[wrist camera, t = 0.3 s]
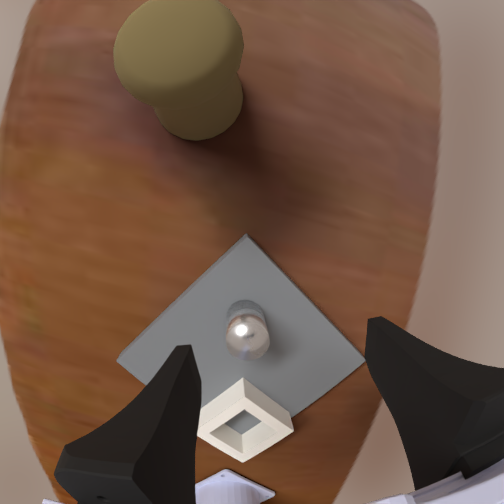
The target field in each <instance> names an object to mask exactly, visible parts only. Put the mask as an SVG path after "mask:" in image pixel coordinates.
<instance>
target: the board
mask: <svg viewBox="0 0 504 504" xmlns="http://www.w3.org/2000/svg"><path fill="white" fill-rule="evenodd" d="M240 300H251V301H254V302H255V303H257V304H258V305H259V306H260V307H261V309H262V311H263V314H264V318H265V322H266V326H267V330H268V334H269V339H270V344H269V348H268V350H267V351H266V352H265V354H263V355H262V356H261V357H259V358H257V359H254V360H248V361H246V360H240V359H237V358H235V357H234V356H232V355H231V354H230V352H229V351H228V349H227V346H226V313H227V310H228V309H229V307H230V306H231V305H232V304H233V303H235V302H237V301H240ZM189 344H191V345H192V349H193V353H194V356H195V360H196V363H197V367H198V370H199V374H200V377H201V381H202V402H201V408H202V407H204V406H205V405H207V404H208V403H209V402H211V401H212V400H213V399H215V398H216V397H218V396H219V395H220V394H222V393H223V392H224V391H226V390H227V389H228V388H230V387H231V386H232V385H234V384H235V383H236V382H238V381H239V380H240V379H242V378H245V379H246V380H247V381H249V382H250V383H251V384H252V385H254V386H255V387H256V388H258V389H259V390H260V391H261V392H263V393H264V394H265V395H267V396H268V397H269V398H271V399H272V400H273V401H275V402H276V403H277V404H279V405H280V406H282V407H283V408H284V409H286V410H287V411H288V412H289V413H290V417H291V418H292V417H293V416H295V415H296V414H298V413H299V412H300V411H302V410H303V409H305V408H306V407H307V406H309V405H310V404H311V403H313V402H314V401H316V400H317V399H318V398H320V397H321V396H322V395H324V394H325V393H326V392H328V391H329V390H330V389H331V388H333V387H334V386H335V385H337V384H338V383H339V382H340V381H342V380H343V379H344V378H345V377H347V376H348V375H349V374H350V373H352V372H353V371H354V370H355V369H356V368H358V367H359V366H360V365H361V364H362V363H364V362H365V361H366V360H365V358H364V357H363V355H362V354H361V353H360V352H359V350H358V349H357V348H356V347H355V346H354V345H353V344H352V343H351V342H350V341H349V340H348V339H347V338H346V337H345V336H344V335H343V334H342V333H341V331H340V330H339V329H338V328H337V327H336V326H335V325H334V324H333V323H332V322H331V321H330V320H329V319H328V318H327V317H326V316H325V315H324V314H323V313H322V311H321V310H320V309H319V308H318V307H317V306H316V305H315V304H314V303H313V302H312V301H311V300H310V299H309V298H308V297H307V296H306V295H305V294H304V293H303V292H302V290H301V289H300V288H299V287H298V286H297V285H296V284H295V283H294V282H293V281H292V280H291V279H290V278H289V277H288V276H287V275H286V274H285V273H284V272H283V271H282V270H281V269H280V268H279V266H278V265H277V264H276V263H275V262H274V261H273V260H272V259H271V258H270V257H269V256H268V255H267V254H266V253H265V252H264V251H263V250H262V249H261V248H260V247H259V246H258V245H257V244H256V243H255V242H254V240H253V239H252V238H251V237H250V236H249V235H248V234H247V233H246V234H245V235H244V236H243V237H242V238H240V239H239V240H238V241H237V242H236V243H235V244H234V245H233V246H232V247H231V248H230V249H229V250H228V251H227V252H226V253H224V254H223V255H222V256H221V257H220V258H219V259H218V260H217V261H216V262H215V263H214V264H213V265H212V266H211V267H210V268H209V269H208V270H206V271H205V272H204V273H203V274H202V275H201V276H200V277H199V278H198V279H197V280H196V281H195V282H194V283H193V284H192V285H191V286H190V287H189V288H188V289H186V290H185V291H184V292H183V293H182V294H181V295H180V296H179V297H178V298H177V299H176V300H175V301H174V302H173V303H172V304H171V305H170V306H169V307H168V308H167V309H166V310H165V311H163V312H162V313H161V314H160V315H159V316H158V317H157V318H156V319H155V320H154V321H153V322H152V323H151V324H150V325H149V326H148V327H147V328H146V329H145V330H144V331H143V332H142V333H141V334H140V335H139V336H138V337H137V338H136V339H135V340H133V341H132V342H131V343H130V344H129V345H128V346H127V347H126V348H125V349H124V350H123V351H122V352H121V353H120V355H119V357H118V359H117V362H118V363H119V364H120V365H122V366H123V367H124V368H125V369H126V370H128V371H129V372H130V373H131V374H132V375H134V376H135V377H136V378H137V379H139V380H140V381H141V382H142V383H144V384H145V385H147V384H148V383H149V382H150V381H151V379H152V378H153V377H154V376H155V374H156V373H157V372H158V370H159V369H160V368H161V366H162V365H163V364H164V362H165V361H166V359H167V358H168V357H169V355H170V354H171V352H172V351H173V350H174V348H175V347H176V346H177V345H189ZM260 422H262V421H261V420H259V419H258V418H256V417H255V416H253V415H252V414H250V413H249V412H248V411H246V410H245V409H244V410H243V411H241V412H240V413H238V414H237V415H235V416H234V417H233V418H231V419H230V420H228V421H227V422H225V423H224V424H226V425H227V426H229V427H230V428H232V429H233V430H235V431H237V432H238V433H240V434H241V435H242V434H244V433H245V432H247V431H248V430H250V429H251V428H253V427H254V426H256V425H257V424H259V423H260Z"/></svg>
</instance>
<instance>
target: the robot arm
mask: <svg viewBox="0 0 504 504" xmlns="http://www.w3.org/2000/svg"><path fill="white" fill-rule="evenodd" d="M364 357H365V360H366V363H367V366H368V368H369V371H370V374H371V376H372V378H373V380H374V382H375V384H376V386H377V388H378V390H379V391H380V393H381V395H382V397H383V399H384V401H385V403H386V404H387V406H388V408H389V410H390V412H391V414H392V416H393V418H394V420H395V423H396V425H397V428H398V431H399V434H400V436H401V439H402V442H403V445H404V449H405V452H406V455H407V458H408V462H409V466H410V469H411V473H412V478H413V482H414V487H415V491H414V492H411V493H409V494H398V495H393V496H389V497H385V498H382V499H379V500H376V501H373V502H369V503H366V504H504V368H497V367H492V366H486V365H482V364H478V363H474V362H471V361H467V360H464V359H461V358H458V357H456V356H453V355H451V354H448V353H446V352H443V351H441V350H439V349H437V348H435V347H433V346H431V345H429V344H427V343H425V342H423V341H421V340H420V339H418V338H416V337H415V336H413V335H411V334H410V333H408V332H406V331H405V330H403V329H402V328H400V327H398V326H397V325H395V324H394V323H392V322H390V321H389V320H387V319H385V318H383V317H382V316H380V317H375V318H370V319H368V324H367V336H366V347H365V356H364ZM201 402H202V381H201V377H200V374H199V370H198V367H197V363H196V360H195V356H194V353H193V349H192V345H191V344H189V345H177V346H176V347H175V348H174V350H173V351H172V352H171V354H170V355H169V357H168V358H167V359H166V361H165V362H164V364H163V365H162V366H161V368H160V369H159V370H158V372H157V373H156V374H155V376H154V377H153V378H152V379H151V381H150V382H149V383H148V384H147V385H146V387H145V388H144V389H143V390H142V391H141V392H140V393H139V395H138V396H137V397H136V398H135V399H134V400H133V401H132V402H131V403H129V404H128V405H127V406H126V407H125V408H124V409H123V410H122V411H120V412H119V413H118V414H116V415H115V416H114V417H113V418H111V419H110V420H109V421H107V422H106V423H105V424H103V425H102V426H100V427H99V428H97V429H95V430H94V431H92V432H90V433H89V434H87V435H85V436H83V437H81V438H79V439H77V440H75V441H73V442H71V443H69V444H67V445H65V446H64V449H63V451H62V453H61V456H60V458H59V461H58V464H57V466H56V469H55V472H54V476H55V478H56V480H57V482H58V483H59V484H60V485H61V486H62V487H63V488H64V489H65V490H66V491H67V492H68V493H69V494H70V495H71V496H72V497H73V498H74V499H76V500H77V501H78V503H77V504H260V503H261V502H263V501H265V500H267V499H269V498H271V497H273V496H275V492H274V491H272V490H269V489H267V488H265V487H263V486H261V485H259V484H257V483H254V482H252V481H250V480H248V479H246V478H244V477H242V476H240V475H238V474H236V473H235V472H233V471H231V470H228V469H224V470H222V471H220V472H218V473H217V474H215V475H213V476H211V477H209V478H207V479H205V480H203V481H201V482H199V483H197V484H195V448H196V439H197V432H198V425H199V418H200V410H201ZM42 504H64V503H60V502H57V501H52V500H49V499H43V502H42Z"/></svg>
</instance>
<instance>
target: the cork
mask: <svg viewBox="0 0 504 504" xmlns="http://www.w3.org/2000/svg"><path fill="white" fill-rule="evenodd" d="M243 48H244V43H243V37H242V31H241V28H240V26H239V24H238V22H237V21H236V19H235V18H234V16H233V14H232V13H231V11H230V10H229V9H228V8H227V7H225V6H224V5H223V4H222V3H220V2H219V1H218V0H150V1H148V2H146V3H144V4H143V5H141V6H140V7H139V8H138V9H137V10H135V11H134V12H133V13H132V14H131V15H130V16H129V17H128V19H127V20H126V21H125V23H124V24H123V26H122V27H121V29H120V30H119V32H118V35H117V38H116V41H115V45H114V48H113V54H114V67H115V71H116V73H117V75H118V77H119V79H120V81H121V84H122V86H123V87H124V88H125V89H126V90H127V91H128V92H129V93H131V94H132V95H133V96H134V97H135V98H136V99H137V100H139V101H141V102H143V103H145V104H148V105H150V106H152V107H153V108H154V110H155V113H156V115H157V117H158V119H159V121H160V123H161V124H162V125H163V126H164V127H165V128H166V129H167V130H168V131H169V132H170V133H171V134H173V135H176V136H178V137H180V138H182V139H187V140H195V141H198V140H204V139H210V138H213V137H215V136H217V135H219V134H221V133H223V132H224V131H225V130H226V129H228V128H229V127H230V126H231V125H232V124H233V123H234V122H235V120H236V118H237V116H238V115H239V113H240V111H241V107H242V102H243V92H242V85H241V82H240V80H239V77H238V74H237V71H238V69H239V67H240V63H241V58H242V53H243Z"/></svg>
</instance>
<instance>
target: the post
mask: <svg viewBox="0 0 504 504" xmlns="http://www.w3.org/2000/svg"><path fill="white" fill-rule="evenodd" d="M269 344H270V339H269V334H268V330H267V326H266V322H265V318H264V314H263V311H262V309H261V307H260V306H259V305H258V304H257V303H255V302H254V301H251V300H240V301H237V302H235V303H233V304H232V305H231V306H230V307H229V309H228V310H227V313H226V346H227V349H228V351H229V352H230V354H231V355H232V356H234V357H235V358H237V359H240V360H246V361H248V360H254V359H257V358H259V357H261V356H262V355H263V354H265V352H266V351H267V350H268V348H269Z"/></svg>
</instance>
